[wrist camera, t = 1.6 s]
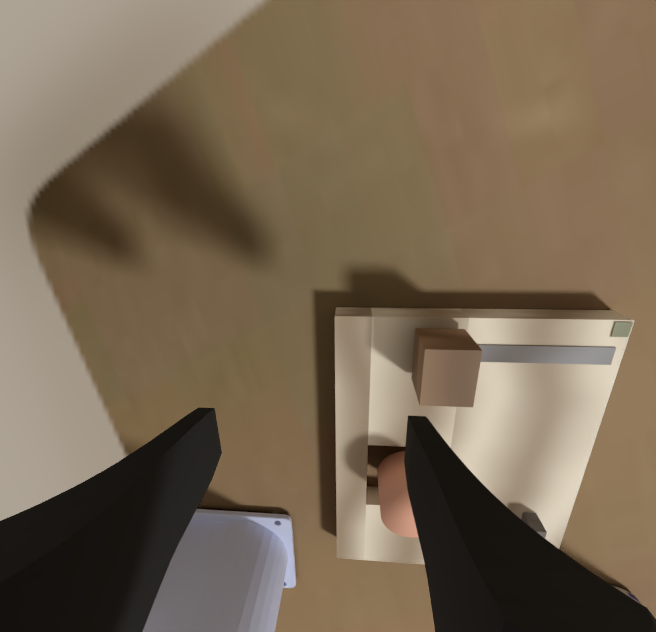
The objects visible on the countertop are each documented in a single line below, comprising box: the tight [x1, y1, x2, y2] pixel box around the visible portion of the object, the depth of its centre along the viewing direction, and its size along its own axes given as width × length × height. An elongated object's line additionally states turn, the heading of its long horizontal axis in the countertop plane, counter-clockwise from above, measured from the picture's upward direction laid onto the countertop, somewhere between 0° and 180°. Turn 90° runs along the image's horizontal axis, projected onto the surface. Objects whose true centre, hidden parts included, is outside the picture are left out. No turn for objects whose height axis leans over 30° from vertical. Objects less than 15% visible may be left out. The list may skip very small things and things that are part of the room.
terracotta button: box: [377, 451, 418, 538], centre depth 20 cm, size 4×4×3 cm
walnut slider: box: [411, 328, 482, 407], centre depth 16 cm, size 2×3×2 cm
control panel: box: [335, 307, 634, 564], centre depth 20 cm, size 15×19×3 cm
